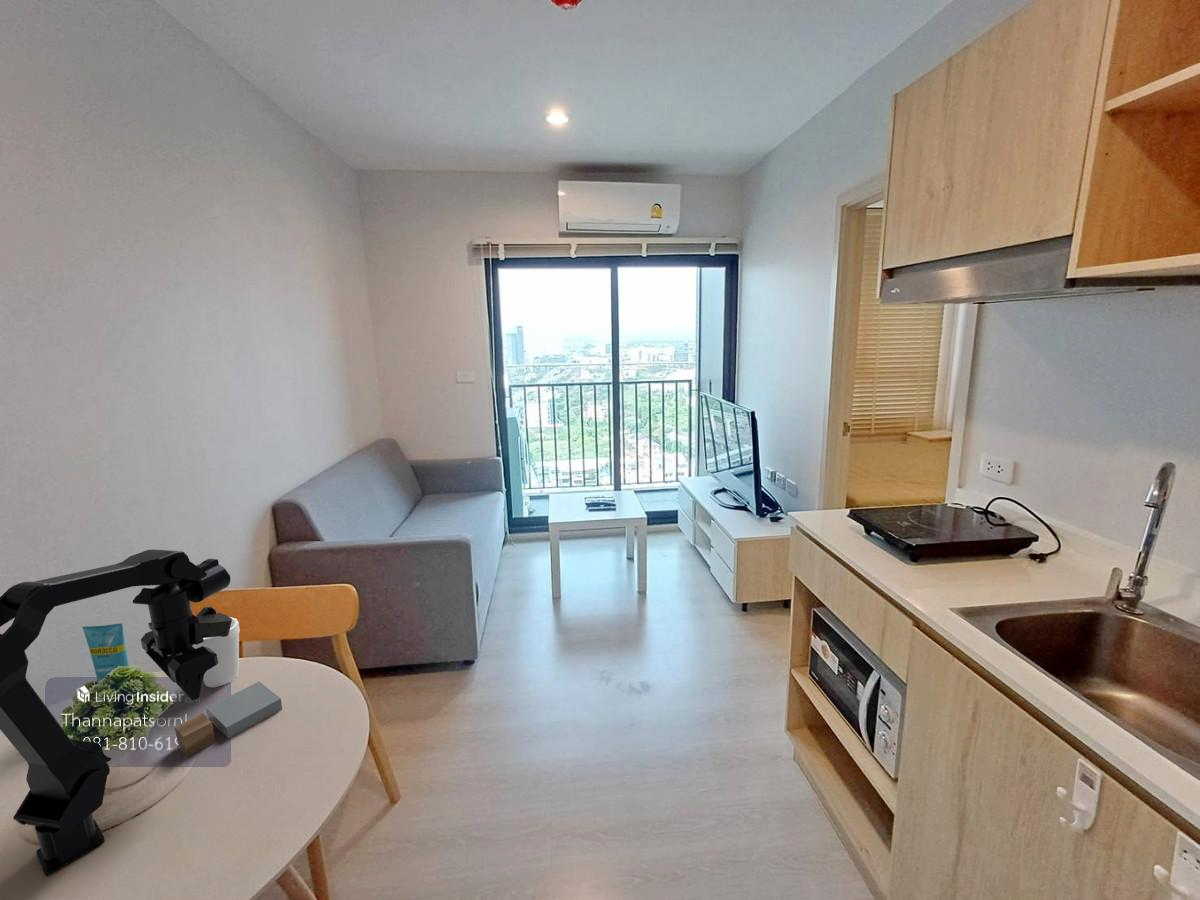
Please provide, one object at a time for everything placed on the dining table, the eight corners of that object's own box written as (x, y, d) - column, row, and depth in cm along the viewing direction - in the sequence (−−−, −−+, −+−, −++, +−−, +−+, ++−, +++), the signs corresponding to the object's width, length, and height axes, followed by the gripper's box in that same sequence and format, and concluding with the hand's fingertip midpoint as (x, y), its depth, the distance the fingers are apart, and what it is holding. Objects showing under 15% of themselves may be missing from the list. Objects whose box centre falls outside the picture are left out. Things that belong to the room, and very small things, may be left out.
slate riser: (282, 708, 108) (280, 698, 107) (228, 738, 100) (226, 727, 99) (260, 691, 113) (259, 681, 113) (207, 718, 105) (205, 707, 105)
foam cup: (249, 678, 118) (241, 628, 115) (200, 697, 111) (190, 645, 108) (241, 660, 124) (233, 612, 121) (194, 678, 118) (184, 627, 115)
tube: (92, 715, 106) (72, 632, 102) (108, 699, 111) (89, 620, 107) (133, 709, 108) (115, 628, 104) (147, 694, 112) (131, 616, 108)
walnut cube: (215, 742, 99) (211, 722, 98) (187, 757, 95) (183, 736, 94) (206, 732, 101) (202, 712, 100) (178, 746, 98) (174, 726, 97)
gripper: (243, 610, 94) (255, 684, 97) (203, 585, 104) (215, 652, 107) (169, 639, 85) (184, 719, 88) (133, 607, 95) (148, 680, 98)
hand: (186, 689), depth 96 cm, fingers open, 9 cm apart
